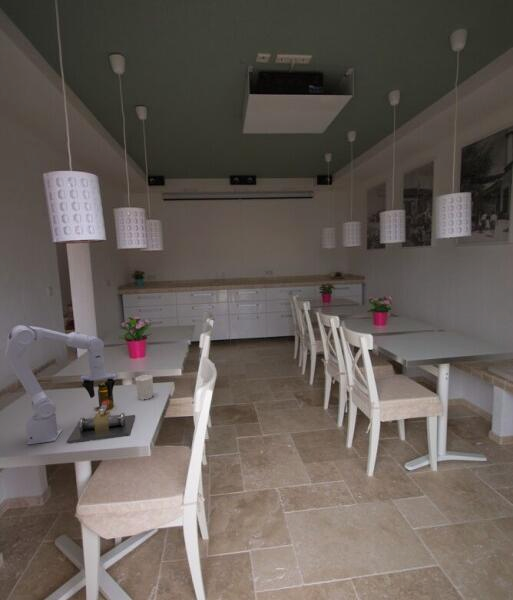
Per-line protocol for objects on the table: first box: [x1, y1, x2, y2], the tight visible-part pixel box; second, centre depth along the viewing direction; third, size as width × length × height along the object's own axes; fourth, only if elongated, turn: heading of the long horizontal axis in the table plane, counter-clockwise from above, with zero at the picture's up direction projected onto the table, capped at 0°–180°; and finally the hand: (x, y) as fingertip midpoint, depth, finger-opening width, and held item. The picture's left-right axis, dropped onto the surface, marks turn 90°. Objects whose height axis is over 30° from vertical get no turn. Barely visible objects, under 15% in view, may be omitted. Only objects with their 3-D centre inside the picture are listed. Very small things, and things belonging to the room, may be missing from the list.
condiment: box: [93, 380, 117, 415], centre depth 157 cm, size 7×8×12 cm
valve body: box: [66, 411, 136, 444], centre depth 138 cm, size 22×16×7 cm
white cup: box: [134, 374, 154, 401], centre depth 168 cm, size 8×8×10 cm
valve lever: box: [98, 400, 109, 414], centre depth 141 cm, size 10×2×2 cm, turn 12°
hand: (101, 396), depth 146 cm, fingers open, 7 cm apart
